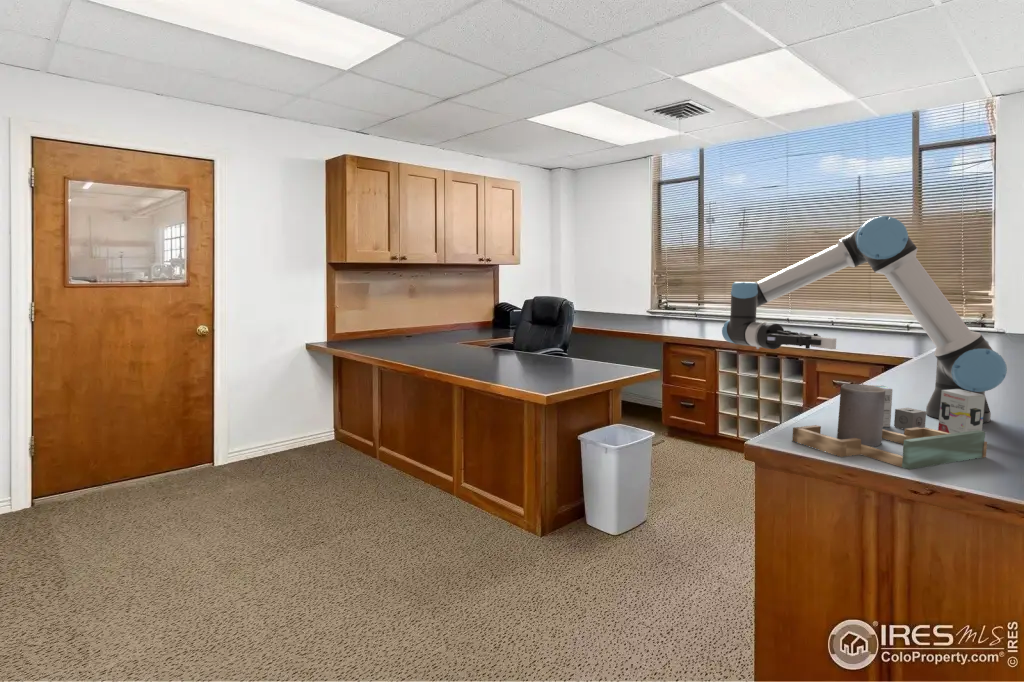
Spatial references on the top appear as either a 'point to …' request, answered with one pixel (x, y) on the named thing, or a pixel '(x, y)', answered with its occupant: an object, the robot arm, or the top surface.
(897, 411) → the grey cube block
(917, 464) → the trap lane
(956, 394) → the ink box
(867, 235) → the robot arm
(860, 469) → the top surface
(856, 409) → the pillar candle
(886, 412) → the light bulb box
